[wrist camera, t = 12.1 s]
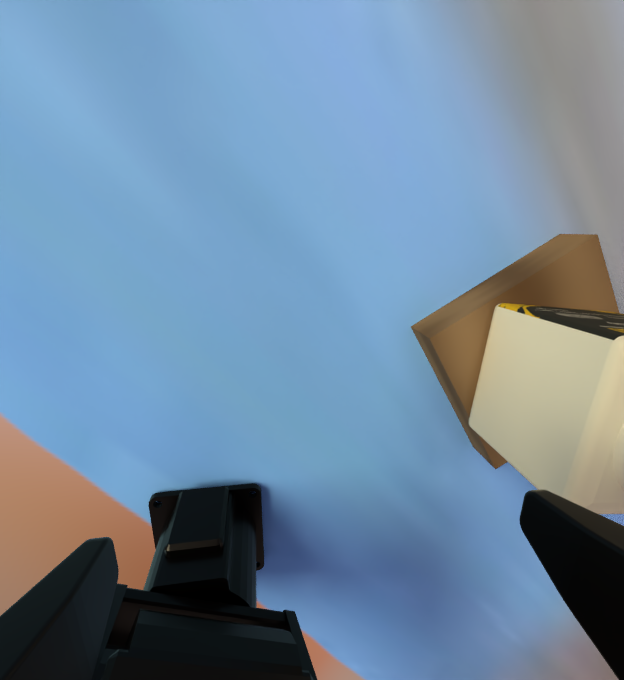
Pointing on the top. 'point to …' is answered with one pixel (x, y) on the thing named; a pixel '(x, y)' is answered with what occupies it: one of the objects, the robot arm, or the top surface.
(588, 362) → the medicine bottle
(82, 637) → the robot arm
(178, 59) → the top surface
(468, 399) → the walnut block
